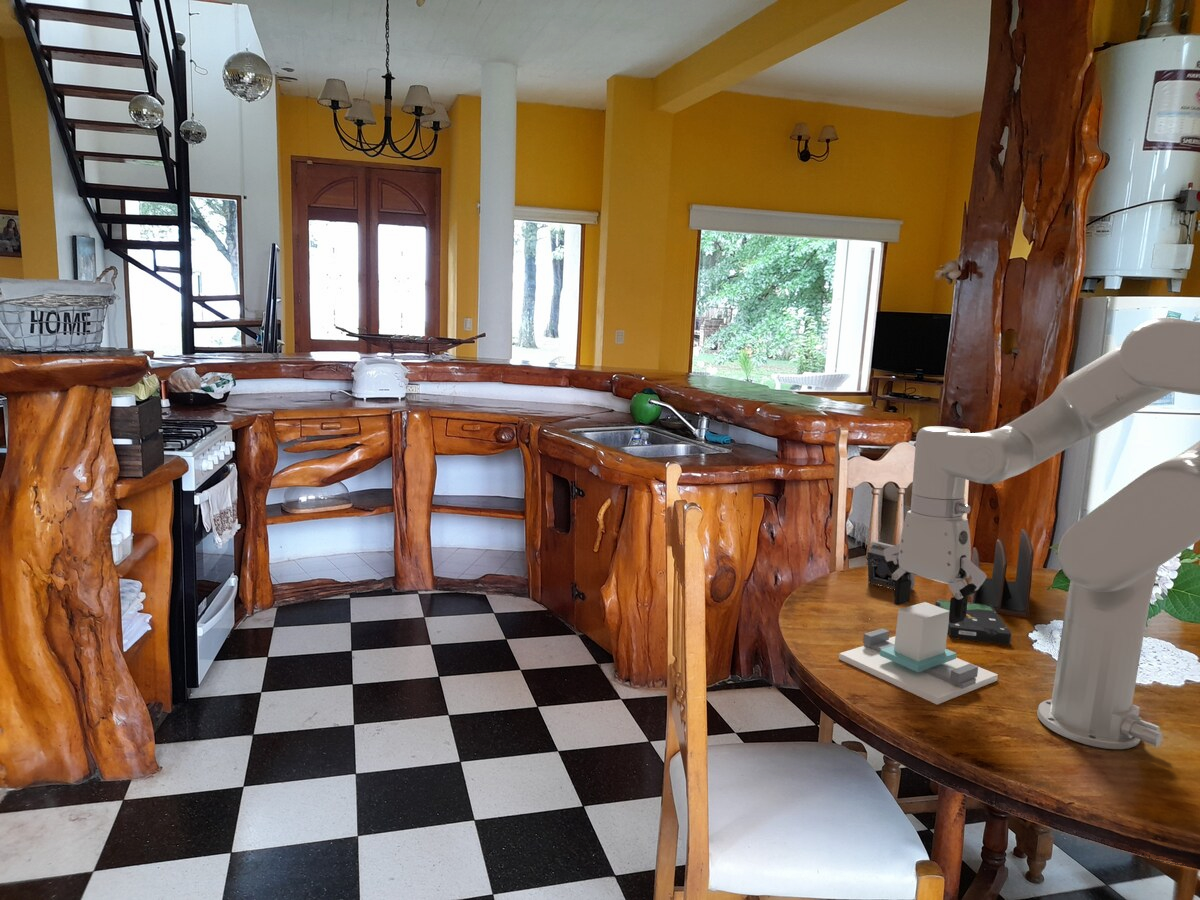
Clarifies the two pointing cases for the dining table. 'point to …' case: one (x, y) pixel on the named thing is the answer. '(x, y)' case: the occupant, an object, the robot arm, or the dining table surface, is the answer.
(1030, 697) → the dining table surface
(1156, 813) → the dining table surface
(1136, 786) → the dining table surface
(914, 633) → the block
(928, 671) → the rail panel
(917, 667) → the plate
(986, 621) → the disk drive
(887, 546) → the electrical switch
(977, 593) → the letter holder
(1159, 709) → the dining table surface
